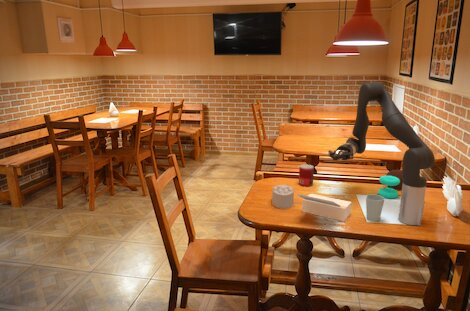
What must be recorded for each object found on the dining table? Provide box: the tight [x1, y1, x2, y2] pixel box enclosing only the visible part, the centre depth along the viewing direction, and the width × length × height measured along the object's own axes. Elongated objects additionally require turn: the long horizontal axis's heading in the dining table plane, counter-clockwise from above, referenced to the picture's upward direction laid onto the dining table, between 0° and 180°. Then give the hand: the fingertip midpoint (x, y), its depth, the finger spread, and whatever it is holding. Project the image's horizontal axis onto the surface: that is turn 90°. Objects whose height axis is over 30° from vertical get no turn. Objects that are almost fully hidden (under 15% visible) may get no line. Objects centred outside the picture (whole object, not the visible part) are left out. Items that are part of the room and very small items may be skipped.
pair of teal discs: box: [377, 175, 400, 199], centre depth 193 cm, size 10×10×10 cm
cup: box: [365, 193, 386, 223], centre depth 164 cm, size 8×8×10 cm
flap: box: [296, 193, 340, 207], centre depth 161 cm, size 16×1×12 cm
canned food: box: [298, 164, 315, 188], centre depth 210 cm, size 8×8×11 cm
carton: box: [301, 193, 352, 222], centre depth 171 cm, size 20×10×6 cm, turn 56°
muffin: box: [385, 169, 403, 191], centre depth 205 cm, size 12×11×10 cm
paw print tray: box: [271, 184, 295, 210], centre depth 182 cm, size 10×13×9 cm
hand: (334, 158), depth 171 cm, fingers closed
